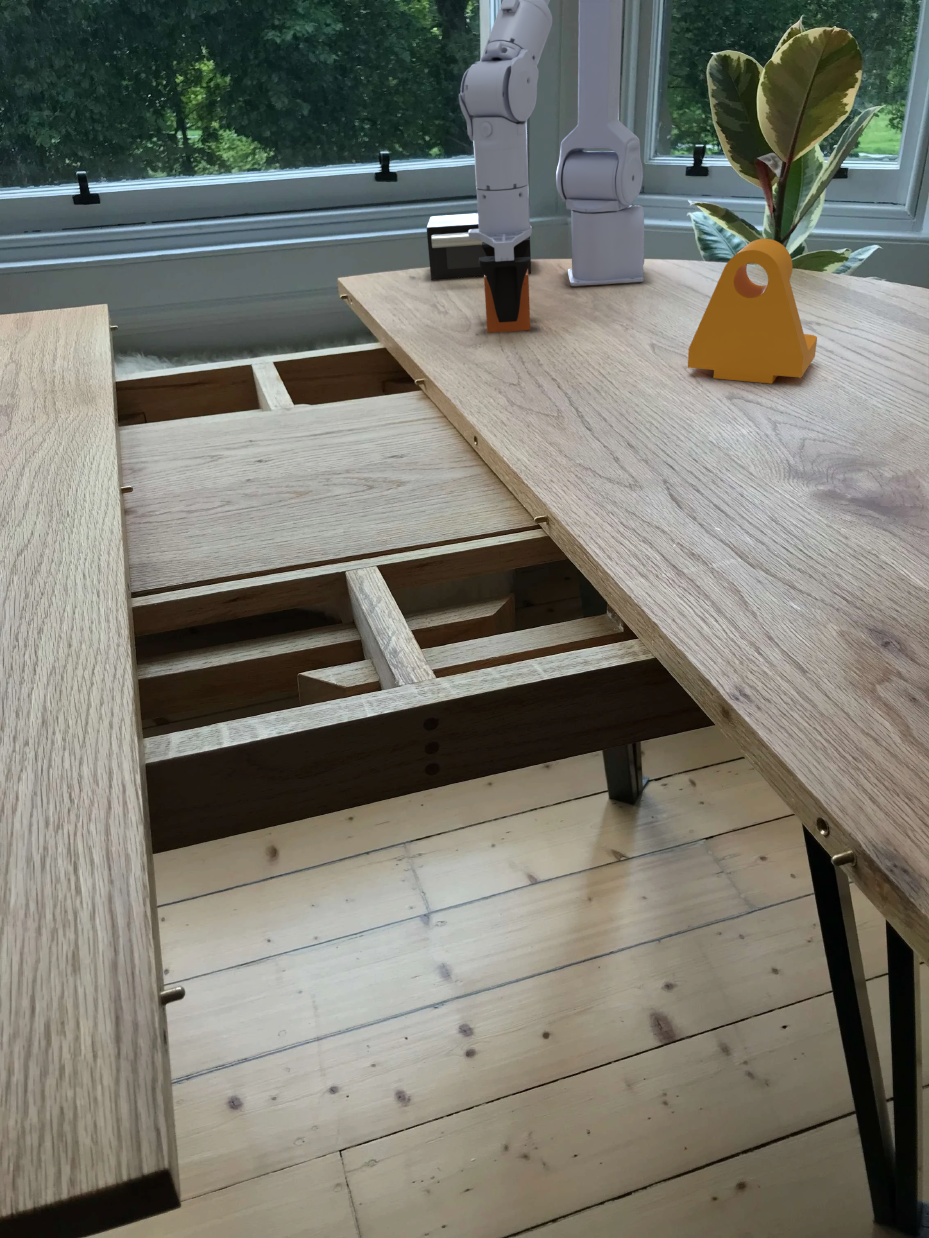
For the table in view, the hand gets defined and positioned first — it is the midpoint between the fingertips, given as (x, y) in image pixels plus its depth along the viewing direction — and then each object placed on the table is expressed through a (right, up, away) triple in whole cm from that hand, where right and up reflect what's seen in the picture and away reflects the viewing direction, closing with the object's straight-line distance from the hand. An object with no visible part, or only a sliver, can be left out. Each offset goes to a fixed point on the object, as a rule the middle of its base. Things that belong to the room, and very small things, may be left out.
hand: (508, 312), depth 114 cm
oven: (-3, +13, +23) cm, 27 cm away
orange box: (0, -1, +1) cm, 2 cm away
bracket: (+23, -11, -18) cm, 31 cm away
